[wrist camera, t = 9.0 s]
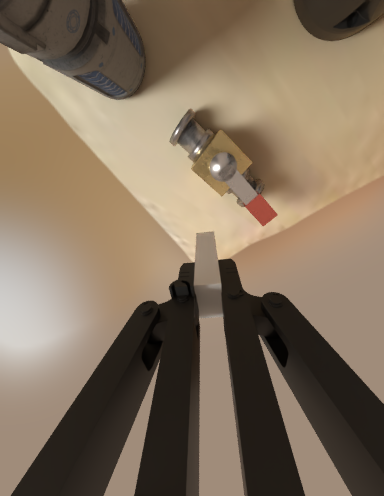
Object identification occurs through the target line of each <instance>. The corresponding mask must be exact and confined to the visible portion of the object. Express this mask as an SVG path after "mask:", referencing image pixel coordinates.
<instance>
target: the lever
mask: <svg viewBox="0 0 384 496" xmlns="http://www.w3.org/2000/svg"><path fill="white" fill-rule="evenodd" d="M209 169H210V172H211V175H212V177H213V178H214V179H215V180H217V181H220V182H225V183H226V184H227V185H228V186H229V187H230V188H231V189H232V190H233V191H234V193H235V194H236V195H237V196H238V197H239V198H240V199H241V200H242V201H243V204H244V206H245V207H246V208H247V209H248V210H249V211H250V213H251V214H252V215H253V216H254V217H255V218H256V219H257V220H258V221H259V222H260V223H261V225H262V226H264V225H266V224H267V223H268V222H269V221H271V220H272V219H273V218H275V217H276V216H277V213H276V212H275V211H274V210H273V209H272V208H271V206H270V205H269V204H268V203H267V202H266V200H265V199H264V198H263V197H262V196H261V195H260V194H259V193H258V192H257V191H255V190H254V189H253V188H252V187H251V186H250V184H249V183H248V182H247V181H246V180H245V179H244V177H243V176H242V175H241V174H240V173H239V172H238V170H237V162H236V159H235V158H234V156H233V155H231V154H230V153H227V152H220V153H217V154H216V155H214V156H213V158H212V159H211V161H210V165H209Z"/></svg>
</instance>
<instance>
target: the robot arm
mask: <svg viewBox="0 0 384 496" xmlns="http://www.w3.org/2000/svg"><path fill="white" fill-rule="evenodd" d="M293 1H294V6H295V9H296V12H297V15H298V17H299V19H300V21H301V23H302V25H303V26H304V27H305V29H306V30H307V31H308V32H309V33H310V34H312V35H313V36H315V37H317V38H319V39H322V40H328V41H334V40H340V39H344V38H347V37H349V36H352V35H354V34H356V33H357V32H359V31H361V30H362V29H363V28H365V27H366V26H368V25H369V24H370V23H372V22H373V21H375V20H376V19H377V18H379V17H380V16H381V15H382V14H383V13H384V0H293ZM169 290H170V294H171V297H172V299H171V300H169V301H167V302H165V303H162V304H159V305H158V304H157V303H156V302H154V301H146V302H143V303H142V304H140V305H139V306H138V307H137V308H136V310H135V311H134V313H133V314H132V316H131V317H130V319H129V320H128V322H127V323H126V325H125V326H124V328H123V329H122V330H121V332H120V334H119V335H118V337H117V338H116V339H115V341H114V343H113V344H112V345H111V347H110V348H109V350H108V351H107V353H106V354H105V356H104V357H103V359H102V360H101V362H100V363H99V365H98V366H97V368H96V369H95V371H94V372H93V374H92V375H91V377H90V378H89V380H88V381H87V383H86V384H85V386H84V387H83V389H82V390H81V392H80V393H79V395H78V396H77V398H76V399H75V401H74V402H73V404H72V405H71V406H70V408H69V410H68V411H67V412H66V414H65V415H64V417H63V418H62V420H61V422H60V423H59V424H58V426H57V427H56V429H55V430H54V432H53V433H52V435H51V436H50V438H49V439H48V441H47V442H46V444H45V445H44V447H43V448H42V450H41V451H40V453H39V454H38V456H37V457H36V459H35V460H34V462H33V463H32V465H31V466H30V468H29V469H28V471H27V472H26V474H25V475H24V477H23V478H22V480H21V481H20V483H19V484H18V485H17V487H16V488H15V490H14V491H13V493H12V495H11V496H103V495H104V493H105V491H106V488H107V486H108V483H109V481H110V479H111V476H112V474H113V471H114V469H115V466H116V464H117V462H118V459H119V457H120V454H121V452H122V450H123V447H124V445H125V442H126V440H127V437H128V435H129V433H130V430H131V428H132V425H133V423H134V421H135V418H136V416H137V413H138V411H139V408H140V406H141V403H142V401H143V399H144V396H145V394H146V392H147V389H148V386H149V384H150V382H151V379H152V377H153V375H154V372H155V370H156V367H157V365H158V362H159V360H160V363H159V369H158V373H157V379H156V384H155V389H154V394H153V400H152V405H151V410H150V416H149V421H148V427H147V432H146V437H145V442H144V448H143V452H142V458H141V463H140V468H139V474H138V479H137V484H136V489H135V494H134V496H199V387H200V386H199V384H200V383H199V382H200V381H199V379H200V377H199V376H200V324H199V318H209V317H223V319H224V331H225V337H226V345H227V353H228V362H229V370H230V379H231V387H232V395H233V404H234V412H235V420H236V428H237V437H238V445H239V454H240V462H241V469H242V478H243V487H244V495H245V496H305V494H304V490H303V487H302V483H301V480H300V477H299V473H298V470H297V466H296V463H295V460H294V456H293V453H292V449H291V446H290V442H289V439H288V436H287V432H286V429H285V426H284V422H283V418H282V415H281V411H280V408H279V405H278V401H277V398H276V394H275V391H274V388H273V384H272V381H271V378H270V374H269V370H268V367H267V364H266V360H265V357H264V354H263V350H262V346H261V343H260V340H259V336H258V335H260V337H261V338H262V340H263V342H264V344H265V345H266V347H267V349H268V351H269V352H270V354H271V356H272V357H273V359H274V361H275V363H276V364H277V366H278V368H279V369H280V371H281V373H282V375H283V377H284V378H285V380H286V382H287V383H288V385H289V387H290V389H291V390H292V392H293V394H294V396H295V397H296V399H297V401H298V403H299V404H300V406H301V408H302V410H303V411H304V413H305V415H306V417H307V418H308V420H309V422H310V423H311V425H312V427H313V429H314V430H315V432H316V434H317V436H318V437H319V439H320V441H321V443H322V444H323V446H324V448H325V450H326V451H327V453H328V455H329V456H330V458H331V460H332V461H333V463H334V465H335V467H336V469H337V470H338V472H339V474H340V475H341V477H342V479H343V481H344V483H345V484H346V486H347V488H348V489H349V491H350V493H351V494H352V496H384V404H383V403H382V402H381V401H380V400H379V398H378V397H377V396H376V395H375V394H374V393H373V392H372V391H371V390H370V389H369V388H368V386H367V385H366V384H365V383H364V382H363V381H362V380H361V379H360V378H359V377H358V375H357V374H356V373H355V372H354V371H353V370H352V369H351V368H350V367H349V365H347V363H346V362H345V361H344V360H343V359H342V358H341V357H340V356H339V354H338V353H337V352H336V351H335V350H334V349H333V348H332V347H331V346H330V345H329V343H328V342H327V341H326V340H325V339H324V338H323V337H322V336H321V335H320V334H319V333H318V331H317V330H316V329H315V328H314V327H313V326H312V325H311V324H310V323H309V321H308V320H307V319H306V318H305V317H304V316H303V315H302V314H301V313H300V312H299V310H298V309H297V308H296V307H295V306H294V305H293V304H292V303H291V302H290V301H289V300H288V298H286V297H285V296H284V295H282V294H280V293H276V292H269V293H266V294H264V295H263V297H257V296H253V295H250V294H248V293H247V292H245V291H244V290H243V288H242V285H241V281H240V278H239V275H238V271H237V267H236V264H235V262H234V261H233V260H232V259H223V260H218V257H217V250H216V243H215V236H214V231H213V232H204V233H197V236H196V254H195V262H194V263H184V264H183V265H182V266H181V268H180V272H179V278H178V280H176V281H174V282H173V283H171V284H170V286H169Z"/></svg>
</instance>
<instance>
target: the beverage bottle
mask: <svg viewBox="0 0 384 496" xmlns="http://www.w3.org/2000/svg"><path fill="white" fill-rule="evenodd" d="M0 43H2V44H3V45H5V46H7V47H9V48H11V49H13V50H15V51H17V52H19V53H21V54H27V55H29V56H32V57H34V58H36V59H38V60H40V61H42V62H43V63H44V64H45V65H47V66H49V67H51V68H52V69H54V70H56V71H58V72H60V73H62V74H64V75H66V76H68V77H70V78H72V79H74V80H75V81H77V82H79V83H81V84H83V85H85V86H87V87H89V88H91V89H93V90H95V91H96V92H98V93H100V94H102V95H104V96H106V97H109V98H111V99H116V100H120V99H125V98H128V97H130V96H131V95H133V94H134V93H135V92H136V91H137V89H138V88H139V86H140V84H141V83H142V80H143V77H144V71H145V52H144V46H143V43H142V39H141V37H140V34H139V32H138V30H137V28H136V26H135V24H134V22H133V20H132V18H131V17H130V15H129V13H128V11H127V9H126V7H125V5H124V3H123V2H122V0H0Z"/></svg>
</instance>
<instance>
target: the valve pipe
mask: <svg viewBox="0 0 384 496" xmlns="http://www.w3.org/2000/svg"><path fill="white" fill-rule="evenodd" d="M195 115H196V113H195V112H194V111H193V110H192V109H189V110H188V111H187V113H186V114H185V115H184V117H183V118H182V119H181V121H180V122H179V124H178V126H177V127H176V129H175V131H174V132H173V134H172V136H171V138H170V143H171V144H172V145H173V146H176V144H177V143H178V144H180V145H181V146H182V147H183V148H184V149H185V150H186V151H187V152H188V153H189V156H188V158H190V159H191V160H192V161H193V162H194V164H193V165H192V168H191V169H192V170H193V171H194V172H195V173H196V174H197V175H198V176H200V177H201V178H202V179H203V180H204V181H205V182H206V183H207V184H208V185H210V186H211V187H212V188H213V189H214V190H215V191H216V192H217V193H219V194H220V195H221V196H223V195H224V194H225V193H226V192H227V193H228V194H230V193H233V194H234V195H235V196H236V197H237V198H238V199H237V204H239V205H240V206H241V207H245V206H244V204H243V201H242V200H241V199H240V198H239V197H238V196H237V195H236V194H235V193H234V191H233V190H232V189H231V188H230V187H229V186H228V185H227V184H226V183H225V182H220V181H217V180H215V179H214V178H213V177H212V175H211V172H210V169H209V165H210V161H211V159H212V158H213V156H214V155H216V154H217V153H220V152H227V153H230V154H231V155H233V156H234V158H235V159H236V162H237V170H238V172H239V173H240V174H241V175H242V176H243V177H244V179H245V180H246V181H247V182H248V183H249V184H250V186H251V187H252V188H253V189H254V190H255V191H257V192H258V193H259V194H261V192H262V191H263V189H264V186H265V184H264V182H263V181H262V180H261V179H257V180H254V179H253V178H252V177H251V176H250V175H249V172H250V170H249V169H248V167H249V166H250V165H251V164H252V163H253V162H252V161H251V160H250V159H249V158H248V157H247V156H246V155H245V154H244V153H243V152H242V151H241V150H240V149H239V148H238V147H237V146H236V145H235V143H234V142H233V141H232V140H231V139H230V138H229V137H228V136H227V135H226V134H225V133H224V132H223V131H222V130H219V131H218V132H217V133H216V134H214V133H213V132H212V131H211V130H210V129H209V128H208V129H207V130H206V131H205V130H204V129H203V128H202V127H201V126H200V125H199V124H198V123H197V122H196V121H195V120H194V117H195Z"/></svg>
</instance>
